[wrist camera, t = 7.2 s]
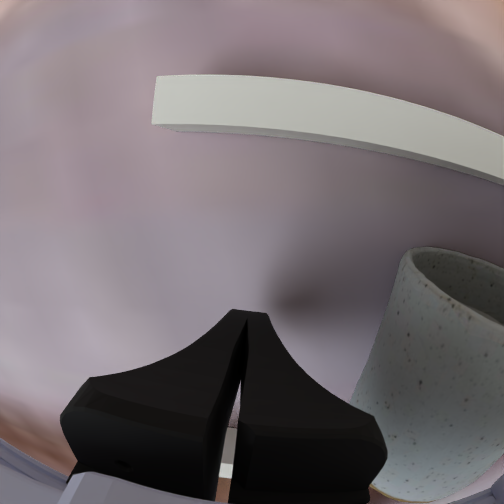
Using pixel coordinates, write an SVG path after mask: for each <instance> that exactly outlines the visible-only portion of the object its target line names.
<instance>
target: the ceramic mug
mask: <svg viewBox="0 0 504 504" xmlns="http://www.w3.org/2000/svg"><path fill="white" fill-rule="evenodd" d="M349 404H350V405H352V406H354V407H356V408H358V409H360V410H362V411H364V412H367V413H369V414H371V415H373V416H374V417H375V419H376V422H377V424H378V426H379V428H380V430H381V432H382V435H383V437H384V440H385V443H386V447H387V450H388V459H387V461H386V463H385V465H384V467H383V468H382V470H381V471H380V472H379V474H378V475H377V476H376V478H375V479H374V480H373V482H372V483H371V484H370V485H369V486H370V487H371V488H373V489H375V490H376V491H378V492H380V493H381V494H383V495H384V496H386V497H389V498H391V499H394V500H397V501H401V502H409V503H429V502H432V501H436V500H439V499H442V498H445V497H447V496H449V495H452V494H454V493H455V492H457V491H459V490H461V489H463V488H464V487H466V486H468V485H470V484H471V483H473V482H474V481H475V480H477V479H478V478H479V477H480V476H481V475H483V474H484V473H485V472H486V471H487V470H488V469H489V468H490V467H491V466H492V465H493V464H494V463H495V462H496V461H497V460H498V459H499V458H500V457H501V456H502V455H503V454H504V268H501V267H498V266H496V265H494V264H492V263H489V262H487V261H485V260H482V259H479V258H475V257H471V256H468V255H465V254H463V253H460V252H456V251H452V250H446V249H441V248H438V247H437V248H432V247H417V248H412V249H409V250H408V251H406V252H405V254H404V255H403V257H402V259H401V261H400V263H399V267H398V271H397V275H396V279H395V282H394V286H393V289H392V292H391V296H390V299H389V302H388V305H387V308H386V311H385V314H384V317H383V320H382V322H381V325H380V328H379V331H378V334H377V336H376V339H375V342H374V345H373V348H372V350H371V353H370V356H369V359H368V362H367V364H366V366H365V368H364V370H363V373H362V375H361V377H360V379H359V381H358V383H357V385H356V388H355V390H354V393H353V396H352V398H351V401H350V403H349Z"/></svg>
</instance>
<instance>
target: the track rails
mask: <svg viewBox="0 0 504 504" xmlns="http://www.w3.org/2000/svg"><path fill="white" fill-rule="evenodd" d="M151 124H152V125H156V126H159V127H163V128H167V129H170V130H173V131H177V132H212V133H232V134H247V135H260V136H271V137H281V138H290V139H299V140H307V141H314V142H322V143H329V144H335V145H341V146H348V147H354V148H359V149H365V150H370V151H375V152H380V153H385V154H390V155H395V156H400V157H404V158H409V159H413V160H417V161H421V162H425V163H429V164H433V165H437V166H441V167H445V168H448V169H452V170H455V171H459V172H462V173H466V174H469V175H472V176H476V177H479V178H482V179H485V180H488V181H491V182H494V183H497V184H500V185H503V186H504V136H502V135H500V134H497V133H495V132H493V131H490V130H488V129H486V128H483V127H481V126H478V125H476V124H473V123H471V122H468V121H466V120H463V119H460V118H457V117H455V116H452V115H449V114H446V113H443V112H440V111H437V110H434V109H431V108H428V107H425V106H421V105H418V104H414V103H411V102H407V101H404V100H400V99H396V98H392V97H388V96H384V95H380V94H376V93H371V92H367V91H362V90H357V89H352V88H347V87H341V86H336V85H330V84H323V83H317V82H309V81H302V80H293V79H284V78H273V77H261V76H244V75H171V76H157V79H156V87H155V95H154V104H153V113H152V123H151ZM236 435H237V428H230V427H227V432H226V436H225V442H224V448H223V454H222V460H221V466H220V472H219V477H224V478H232V470H233V461H234V453H235V444H236Z"/></svg>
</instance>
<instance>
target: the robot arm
mask: <svg viewBox="0 0 504 504" xmlns="http://www.w3.org/2000/svg"><path fill="white" fill-rule="evenodd" d="M240 381H241V396H240V413H239V418H238V426H237V435H236V444H235V453H234V461H233V470H232V478H231V485H230V492H229V499H228V503H221V502H215V497H216V491H217V485H218V478H219V472H220V466H221V460H222V454H223V448H224V442H225V436H226V432H227V427H228V423H229V420H230V416H231V413H232V409H233V406H234V402H235V399H236V395H237V392H238V388H239V384H240ZM60 424H61V427H62V430H63V433H64V435H65V437H66V440H67V442H68V443H69V445H70V447H71V449H72V451H73V453H74V455H75V457H76V459H77V460H78V462H77V464H76V465H75V467H74V469H73V471H72V472H71V474H70V476H69V477H68V476H66V475H64V474H62V473H60V472H58V471H56V470H54V469H52V468H50V467H48V466H46V465H44V464H42V463H40V462H39V461H37V460H35V459H33V458H31V457H30V456H28V455H26V454H25V453H23V452H21V451H20V450H18V449H16V448H15V447H13V446H12V445H10V444H9V443H7V442H5V441H4V440H2V439H1V438H0V504H366V503H368V502H369V501H370V495H369V490H368V487H369V485H370V484H371V483H372V482H373V480H374V479H375V478H376V476H377V475H378V474H379V472H380V471H381V470H382V468H383V467H384V465H385V463H386V461H387V459H388V450H387V447H386V443H385V440H384V437H383V435H382V432H381V430H380V428H379V426H378V424H377V422H376V419H375V417H374V416H373V415H371V414H369V413H367V412H364V411H362V410H360V409H358V408H356V407H354V406H352V405H350V404H348V403H346V402H345V401H343V400H341V399H340V398H338V397H337V396H335V395H333V394H332V393H330V392H329V391H328V390H326V389H325V388H323V387H322V386H321V385H320V384H318V383H317V382H316V381H315V380H314V379H312V378H311V377H310V376H309V375H308V374H307V373H306V372H305V371H304V370H303V369H302V368H301V367H300V366H299V365H298V364H297V363H296V362H295V360H294V359H293V358H292V357H291V355H290V354H289V353H288V351H287V350H286V348H285V347H284V345H283V344H282V342H281V340H280V339H279V337H278V336H277V334H276V332H275V330H274V328H273V326H272V324H271V321H270V319H269V316H268V315H267V313H261V312H252V311H244V310H236V309H232V310H230V311H229V312H228V313H227V314H226V315H225V316H224V317H223V318H222V319H221V320H220V321H219V322H218V323H217V324H216V325H215V326H214V327H213V328H211V329H210V330H209V331H208V332H207V333H206V334H204V335H203V336H202V337H200V338H199V339H198V340H196V341H195V342H194V343H192V344H191V345H189V346H188V347H186V348H185V349H183V350H181V351H179V352H177V353H175V354H173V355H171V356H169V357H167V358H164V359H162V360H160V361H157V362H155V363H152V364H150V365H147V366H144V367H141V368H137V369H134V370H130V371H126V372H121V373H116V374H110V375H104V376H98V377H89V379H88V380H87V381H86V382H85V383H84V384H83V385H82V386H81V387H80V389H79V390H78V391H77V393H76V394H75V396H74V397H73V398H72V400H71V401H70V402H69V404H68V405H67V406H66V408H65V409H64V411H63V412H62V413H61V415H60ZM448 504H504V474H503V475H502V476H501V477H500V478H499V479H498V480H497V481H496V482H495V483H494V484H493V485H492V487H491V488H489V489H486V490H484V491H482V492H479V493H476V494H474V495H471V496H469V497H466V498H463V499H460V500H457V501H454V502H451V503H448Z"/></svg>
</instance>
